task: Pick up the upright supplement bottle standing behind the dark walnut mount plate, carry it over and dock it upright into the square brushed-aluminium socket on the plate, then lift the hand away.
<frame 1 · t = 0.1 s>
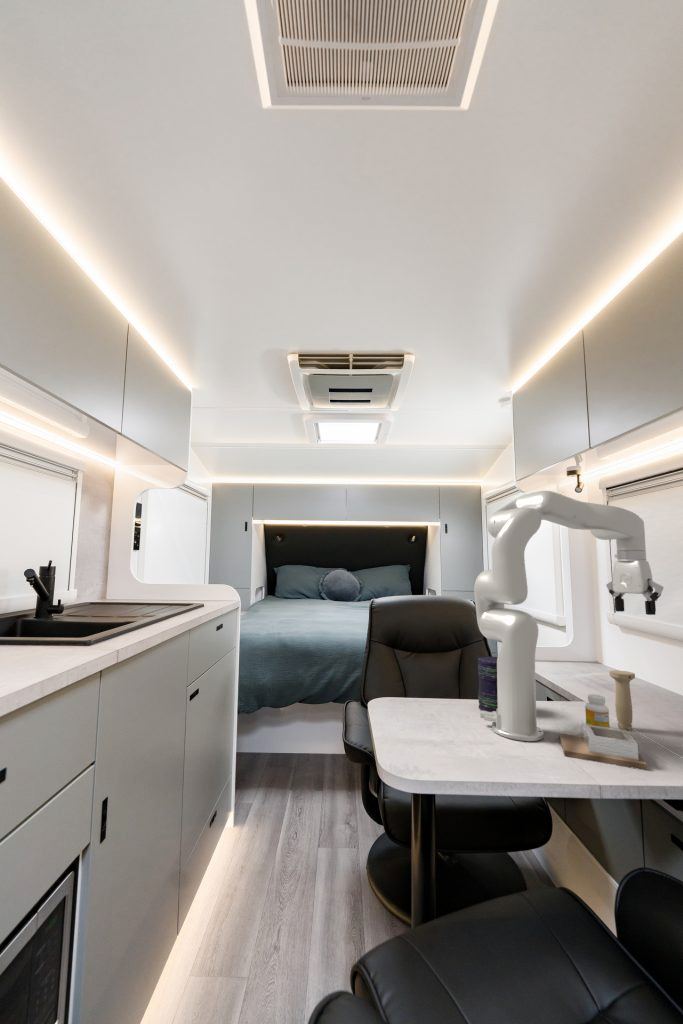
hand: (634, 612, 130), 31 cm above the table, tool pointing down, fingers open, 9 cm apart
handle: (624, 729, 118), on the table
mount plate: (609, 754, 100), on the table
socket: (609, 749, 100), resting on mount plate
supplement bottle: (598, 735, 113), on the table
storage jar: (495, 710, 130), on the table
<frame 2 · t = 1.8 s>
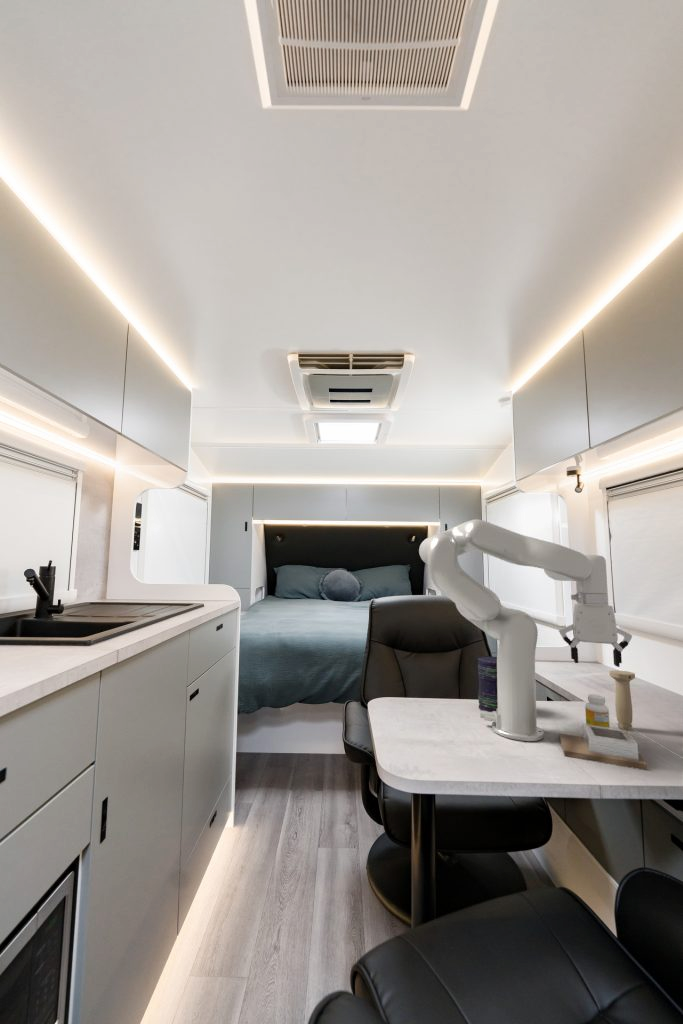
hand: (596, 664, 115), 18 cm above the table, tool pointing down, fingers open, 9 cm apart
nothing on the table moved.
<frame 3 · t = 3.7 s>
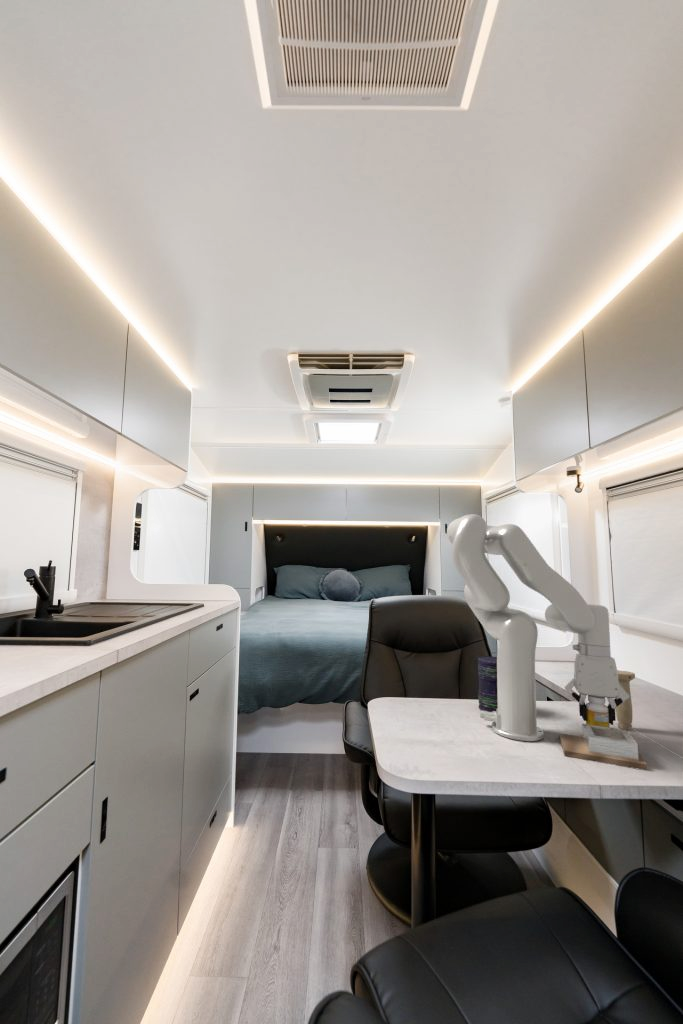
hand: (597, 720, 113), 4 cm above the table, tool pointing down, fingers closed on supplement bottle, 5 cm apart
supplement bottle: (598, 735, 113), on the table, touching gripper
everything else where it was.
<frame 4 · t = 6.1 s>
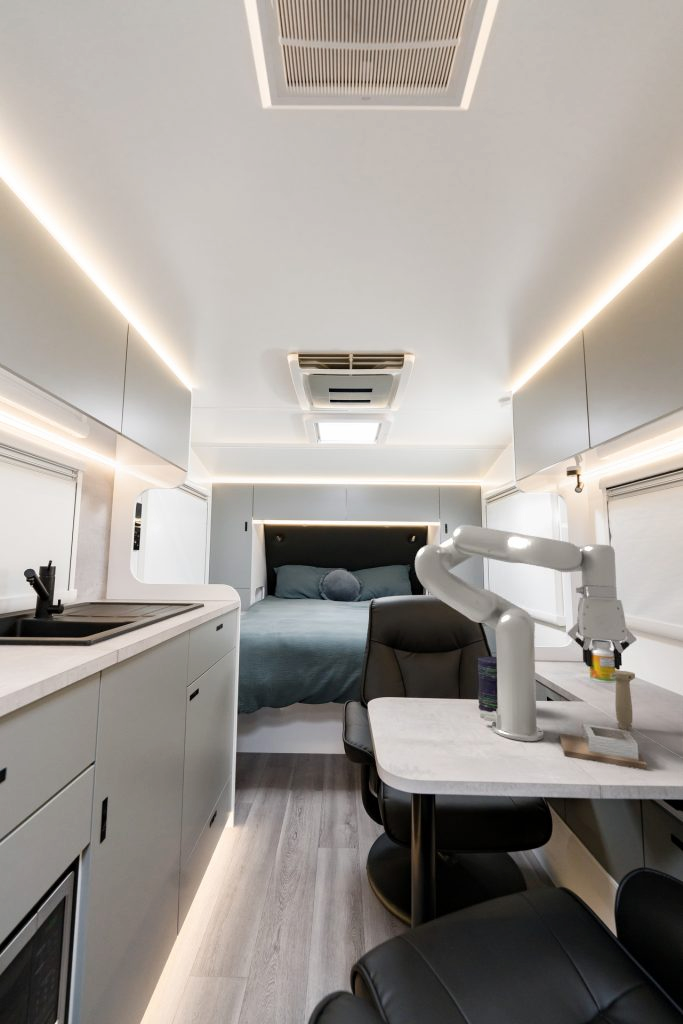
hand: (602, 666, 106), 19 cm above the table, tool pointing down, fingers closed on supplement bottle, 5 cm apart
supplement bottle: (602, 681, 105), point 16 cm above the table, touching gripper
everything else where it was.
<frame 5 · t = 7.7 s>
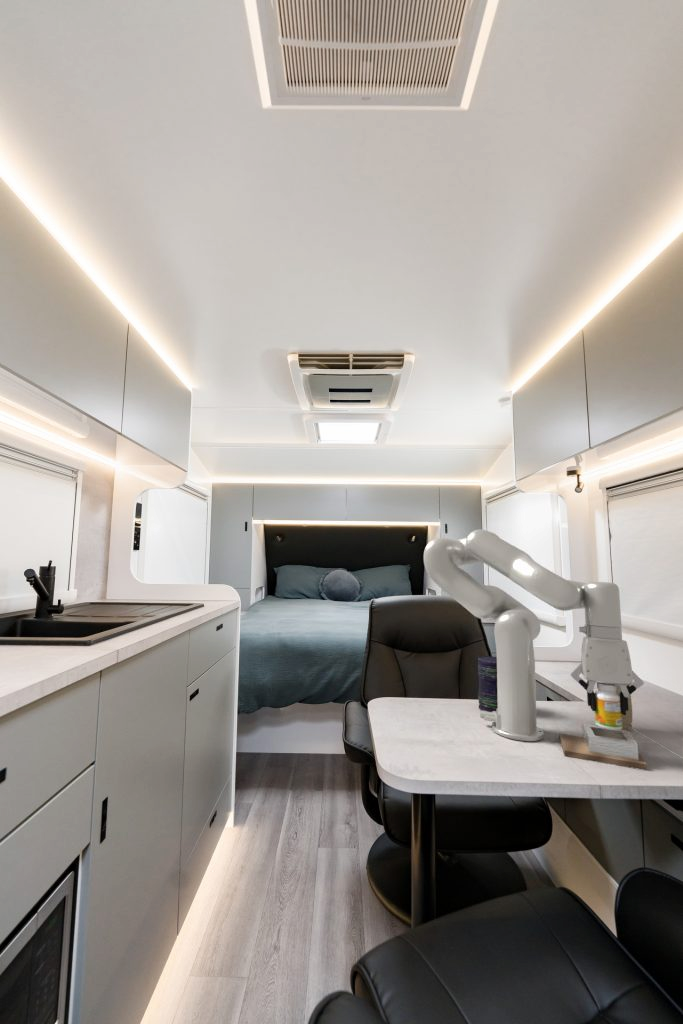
hand: (607, 710, 101), 10 cm above the table, tool pointing down, fingers closed on supplement bottle, 5 cm apart
supplement bottle: (608, 727, 101), point 6 cm above the table, touching gripper
everything else where it was.
when the fingers open (6 cm above the table, at t = 8.9 s): supplement bottle stays where it is, resting on mount plate.
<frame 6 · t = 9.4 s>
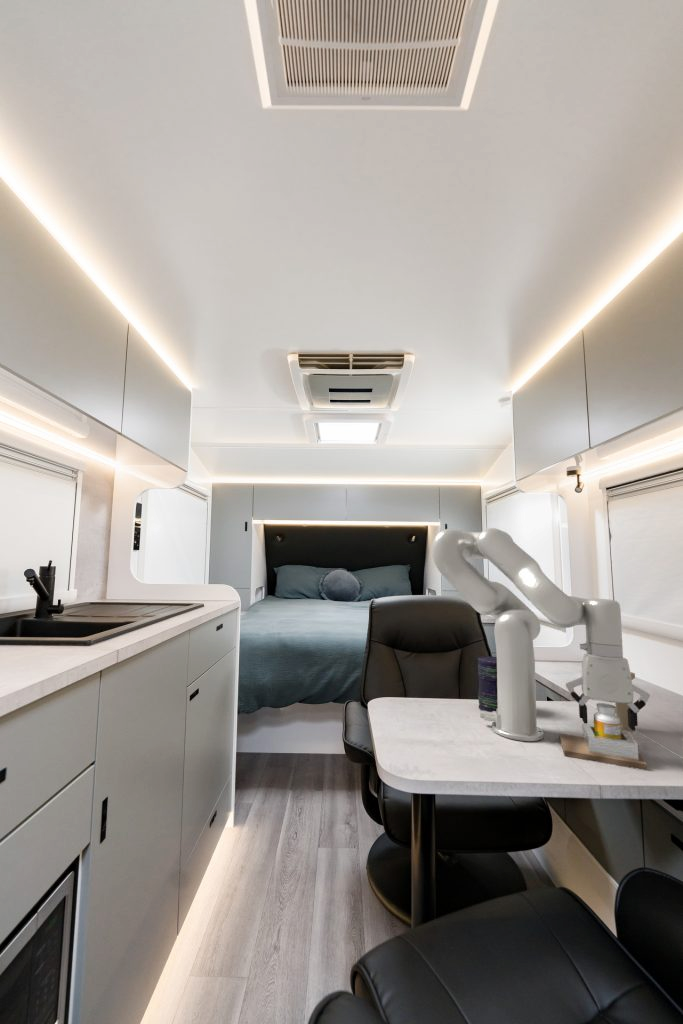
hand: (607, 725, 101), 6 cm above the table, tool pointing down, fingers open, 9 cm apart
supplement bottle: (608, 749, 100), point 1 cm above the table, touching mount plate
everything else where it was.
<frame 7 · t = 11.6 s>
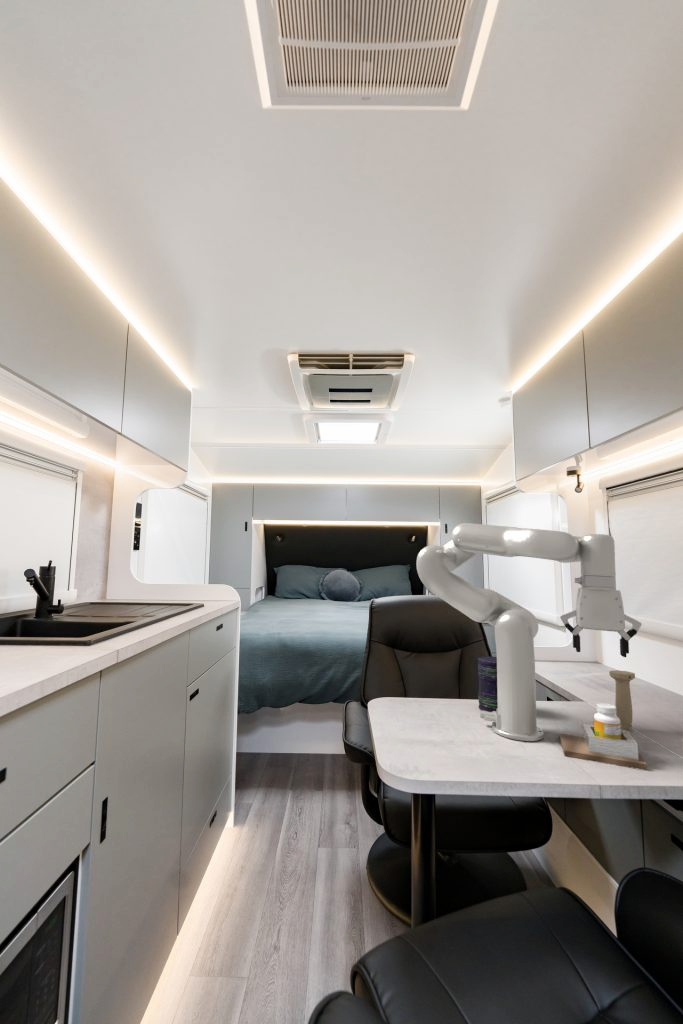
hand: (600, 653, 105), 23 cm above the table, tool pointing down, fingers open, 9 cm apart
nothing on the table moved.
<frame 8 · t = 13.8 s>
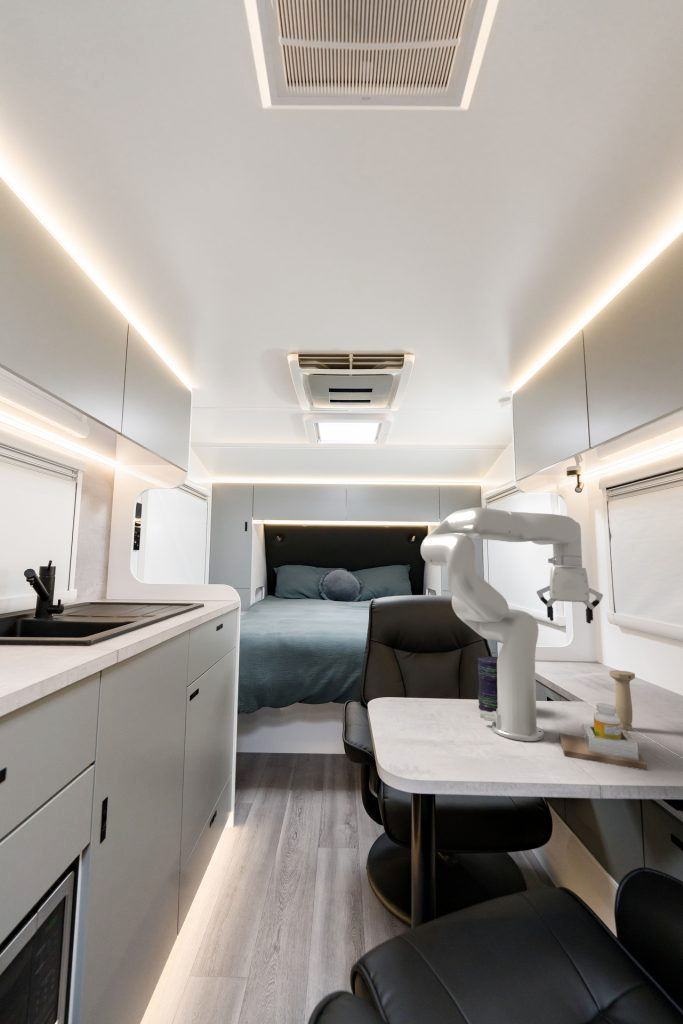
hand: (569, 621, 124), 28 cm above the table, tool pointing down, fingers open, 9 cm apart
nothing on the table moved.
at the end: supplement bottle 0.2 cm off-centre on the socket, point 0.0 cm above the socket's base; supplement bottle tilted 0°; the gripper is holding nothing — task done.
